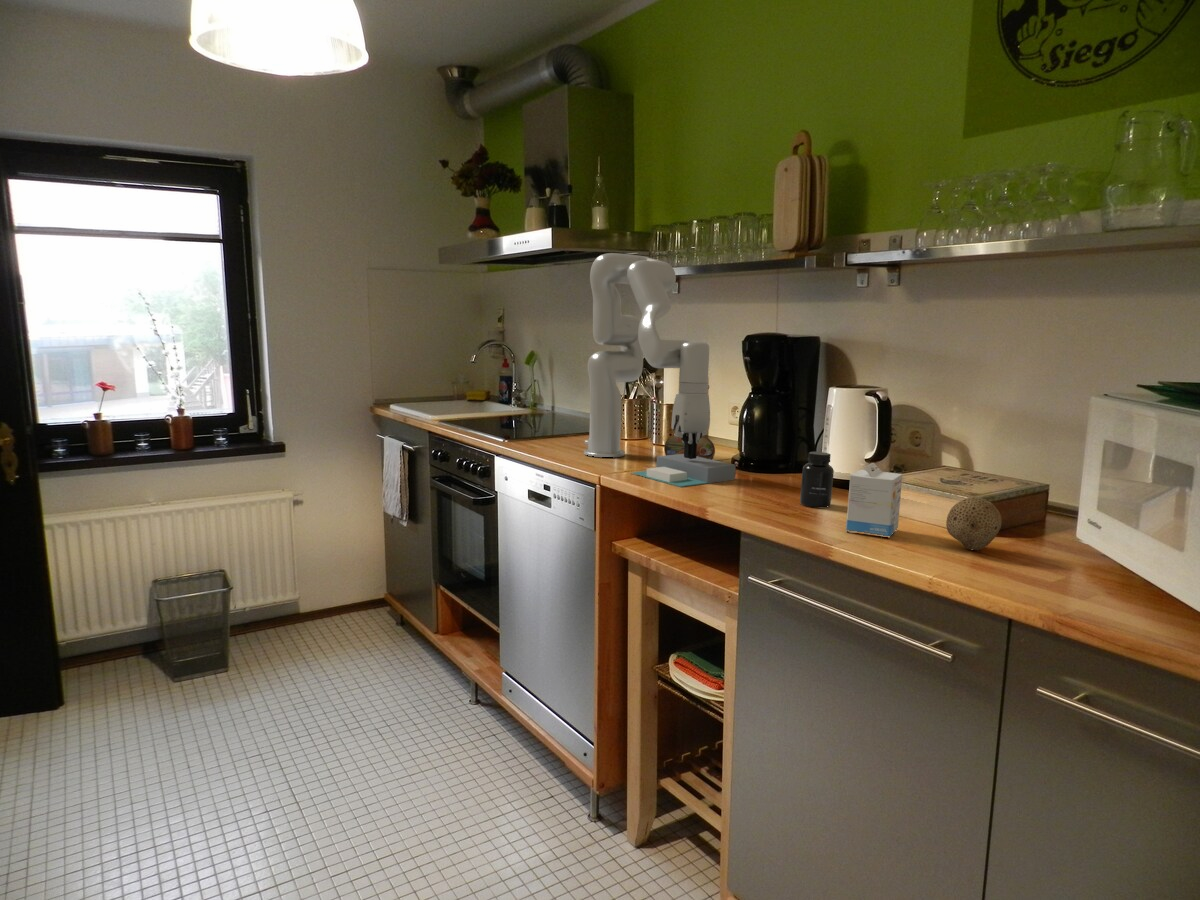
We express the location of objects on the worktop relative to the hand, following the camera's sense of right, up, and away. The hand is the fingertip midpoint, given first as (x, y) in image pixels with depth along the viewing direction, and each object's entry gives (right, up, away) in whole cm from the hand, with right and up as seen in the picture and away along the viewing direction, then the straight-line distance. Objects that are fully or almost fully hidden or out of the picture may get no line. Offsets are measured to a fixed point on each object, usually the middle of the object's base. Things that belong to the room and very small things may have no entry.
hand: (690, 457), depth 206 cm
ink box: (+30, -14, -52) cm, 62 cm away
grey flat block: (+1, -5, +2) cm, 5 cm away
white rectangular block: (-7, -3, -5) cm, 9 cm away
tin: (+2, -2, +20) cm, 20 cm away
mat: (-6, -5, -4) cm, 9 cm away
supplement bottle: (+25, -11, -30) cm, 40 cm away
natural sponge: (+44, -17, -64) cm, 79 cm away
